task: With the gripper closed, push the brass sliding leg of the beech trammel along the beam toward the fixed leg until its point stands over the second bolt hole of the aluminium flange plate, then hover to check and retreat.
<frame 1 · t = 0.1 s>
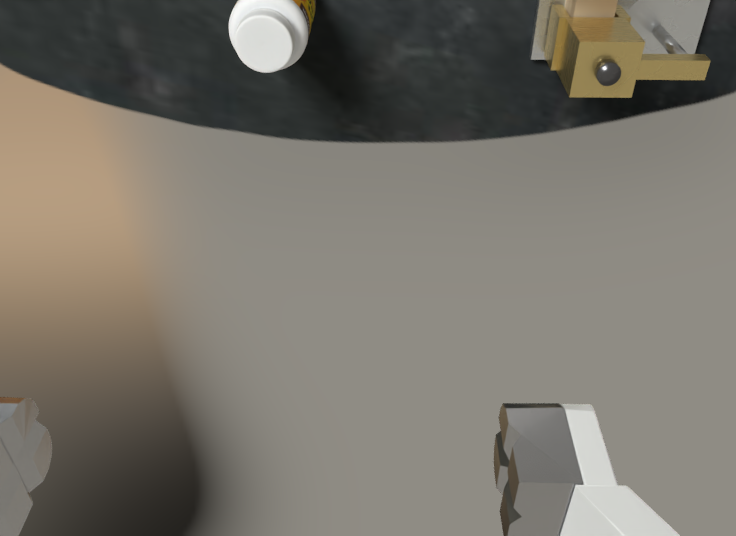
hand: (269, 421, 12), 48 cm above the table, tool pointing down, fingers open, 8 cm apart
sliding leg: (624, 51, 51), point 6 cm above the table, slide at 0.0 cm
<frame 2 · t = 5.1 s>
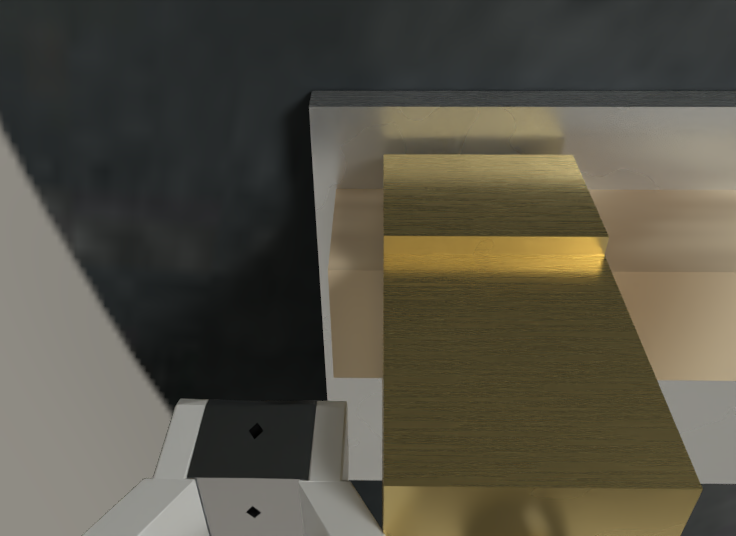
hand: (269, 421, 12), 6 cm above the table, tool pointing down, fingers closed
sliding leg: (479, 465, 14), point 6 cm above the table, slide at 1.1 cm, touching gripper
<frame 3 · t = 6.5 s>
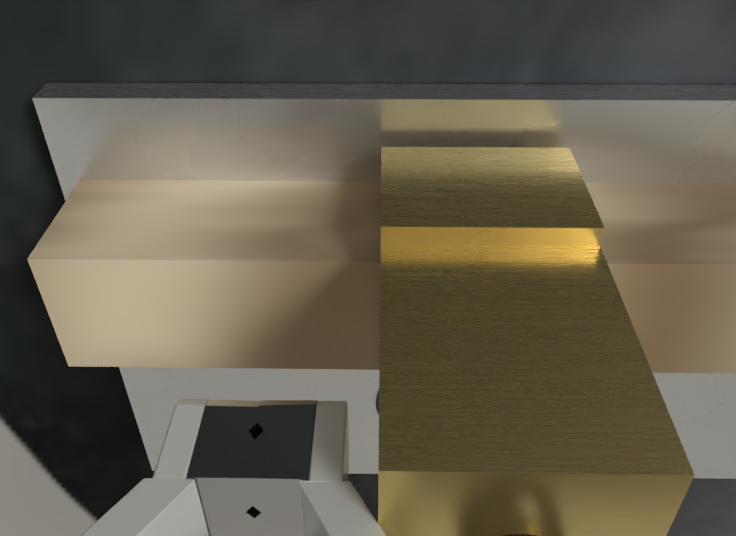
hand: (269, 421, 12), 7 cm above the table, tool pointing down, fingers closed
flange plate: (601, 309, 19), on the table
trammel beam: (625, 218, 17), resting on flange plate
sliding leg: (475, 456, 14), point 6 cm above the table, slide at 6.9 cm, touching gripper
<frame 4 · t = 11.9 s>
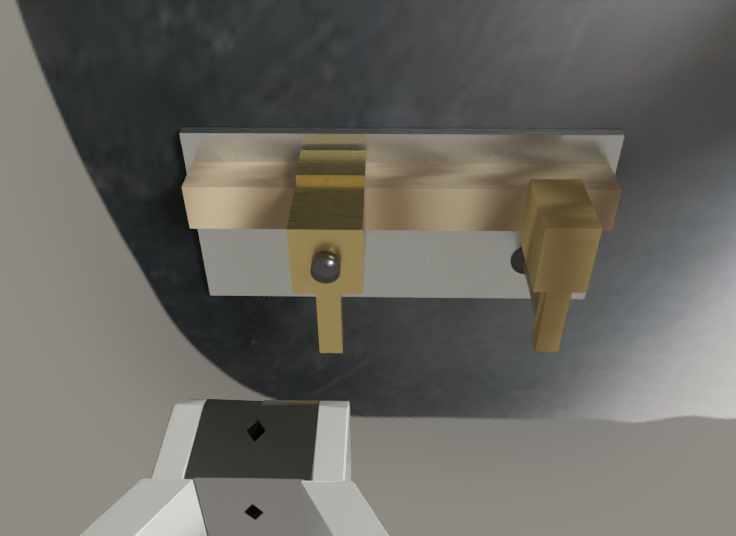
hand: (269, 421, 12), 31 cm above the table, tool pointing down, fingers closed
flange plate: (398, 216, 47), on the table
trammel beam: (399, 177, 45), resting on flange plate
sliding leg: (331, 255, 42), point 6 cm above the table, slide at 6.9 cm
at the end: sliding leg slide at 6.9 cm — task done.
